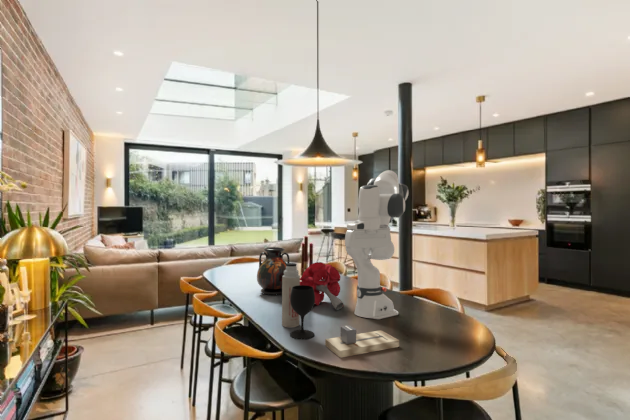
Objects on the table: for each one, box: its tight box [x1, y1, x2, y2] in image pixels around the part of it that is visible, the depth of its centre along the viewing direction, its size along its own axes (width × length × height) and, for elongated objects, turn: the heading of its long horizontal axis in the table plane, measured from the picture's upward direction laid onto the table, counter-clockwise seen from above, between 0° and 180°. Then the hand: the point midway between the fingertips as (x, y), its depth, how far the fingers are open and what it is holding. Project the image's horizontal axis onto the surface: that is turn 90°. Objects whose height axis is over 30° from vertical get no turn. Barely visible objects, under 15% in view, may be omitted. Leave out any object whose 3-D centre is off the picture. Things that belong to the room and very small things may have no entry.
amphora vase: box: [256, 246, 290, 296], centre depth 218 cm, size 22×22×28 cm
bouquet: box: [300, 261, 344, 311], centre depth 192 cm, size 22×24×30 cm
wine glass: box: [289, 285, 315, 340], centre depth 146 cm, size 10×10×20 cm
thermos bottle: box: [281, 262, 301, 328], centre depth 159 cm, size 8×8×28 cm
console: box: [324, 330, 400, 359], centre depth 135 cm, size 26×12×3 cm, turn 114°
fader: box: [340, 324, 357, 344], centre depth 133 cm, size 4×5×5 cm
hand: (368, 259), depth 141 cm, fingers closed
